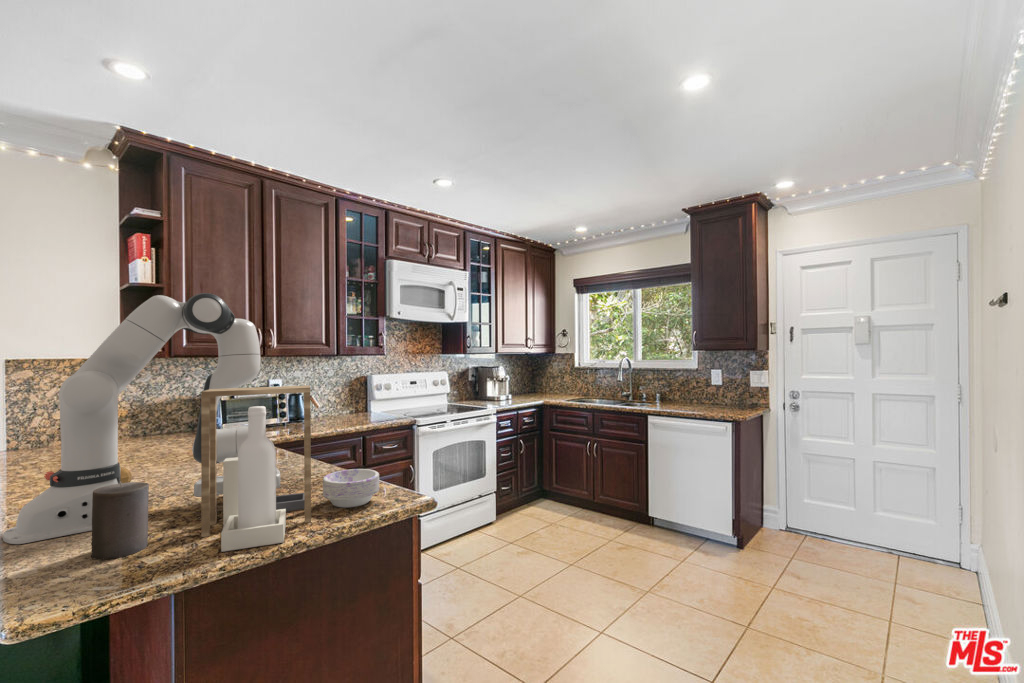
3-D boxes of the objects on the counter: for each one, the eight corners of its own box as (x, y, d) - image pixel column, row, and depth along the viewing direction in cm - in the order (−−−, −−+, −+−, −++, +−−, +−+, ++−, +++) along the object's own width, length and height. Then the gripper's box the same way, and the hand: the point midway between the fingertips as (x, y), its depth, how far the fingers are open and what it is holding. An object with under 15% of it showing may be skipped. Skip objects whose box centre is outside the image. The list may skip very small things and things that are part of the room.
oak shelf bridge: (209, 523, 121) (209, 389, 122) (310, 510, 130) (310, 385, 131) (201, 537, 112) (201, 391, 113) (311, 521, 121) (310, 387, 122)
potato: (104, 498, 145) (104, 471, 145) (81, 492, 151) (82, 467, 152) (141, 489, 154) (141, 464, 154) (118, 485, 160) (118, 460, 160)
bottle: (271, 541, 108) (270, 407, 109) (232, 545, 107) (232, 409, 107) (280, 528, 116) (279, 404, 117) (244, 532, 114) (243, 405, 115)
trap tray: (253, 507, 133) (253, 498, 134) (306, 500, 139) (306, 492, 139) (249, 516, 126) (249, 506, 126) (305, 508, 131) (305, 499, 131)
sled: (226, 521, 122) (226, 457, 122) (287, 513, 127) (287, 452, 127) (210, 553, 102) (210, 477, 102) (283, 542, 107) (283, 470, 108)
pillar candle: (82, 563, 98) (84, 489, 99) (101, 546, 107) (102, 478, 108) (140, 555, 102) (142, 484, 103) (153, 539, 111) (155, 473, 112)
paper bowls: (357, 513, 127) (357, 483, 127) (310, 508, 131) (310, 479, 132) (390, 497, 141) (389, 470, 141) (346, 493, 146) (346, 466, 146)
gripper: (199, 471, 132) (187, 483, 119) (281, 463, 140) (278, 473, 127) (199, 494, 132) (187, 508, 119) (281, 485, 140) (279, 497, 127)
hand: (235, 490), depth 123 cm, fingers closed
